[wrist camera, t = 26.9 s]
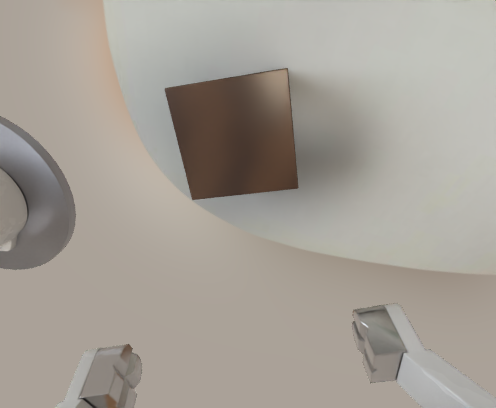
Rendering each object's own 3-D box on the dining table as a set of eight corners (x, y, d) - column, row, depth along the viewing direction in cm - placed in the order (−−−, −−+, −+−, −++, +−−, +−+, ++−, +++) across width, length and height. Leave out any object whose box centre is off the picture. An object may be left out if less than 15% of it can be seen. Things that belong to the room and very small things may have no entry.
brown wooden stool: (210, 170, 40) (192, 200, 31) (192, 82, 35) (164, 88, 26) (292, 160, 38) (298, 188, 29) (284, 67, 34) (287, 68, 25)
